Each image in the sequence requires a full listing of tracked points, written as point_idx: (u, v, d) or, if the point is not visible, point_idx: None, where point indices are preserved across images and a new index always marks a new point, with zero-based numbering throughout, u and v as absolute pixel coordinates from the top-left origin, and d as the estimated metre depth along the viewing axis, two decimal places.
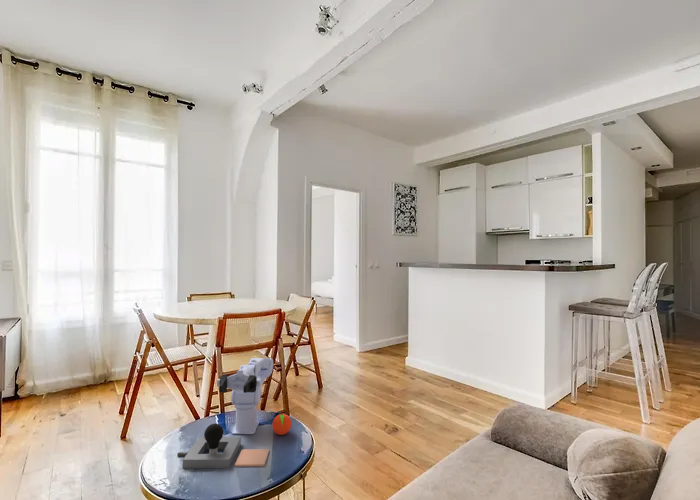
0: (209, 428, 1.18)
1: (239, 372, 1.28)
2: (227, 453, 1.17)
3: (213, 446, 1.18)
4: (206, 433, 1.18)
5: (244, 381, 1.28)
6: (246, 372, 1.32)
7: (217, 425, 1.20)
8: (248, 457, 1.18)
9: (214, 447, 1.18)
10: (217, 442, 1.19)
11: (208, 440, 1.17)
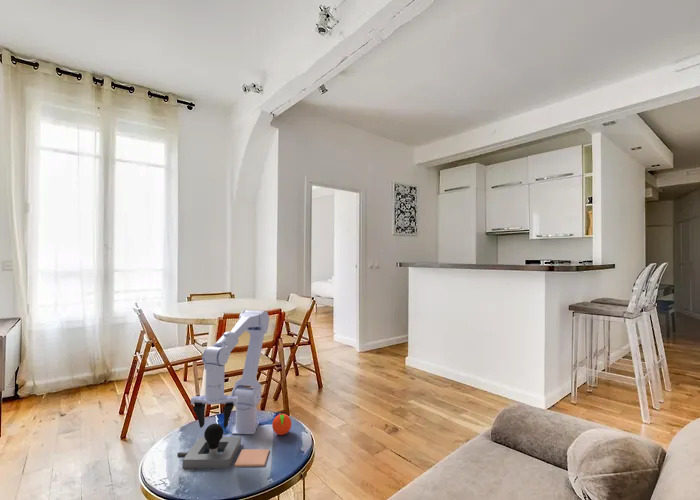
0: (209, 428, 1.18)
1: None
2: (227, 453, 1.17)
3: (213, 446, 1.18)
4: (206, 433, 1.18)
5: None
6: (216, 389, 1.18)
7: (217, 425, 1.20)
8: (248, 457, 1.18)
9: (214, 447, 1.18)
10: (217, 442, 1.19)
11: (208, 440, 1.17)
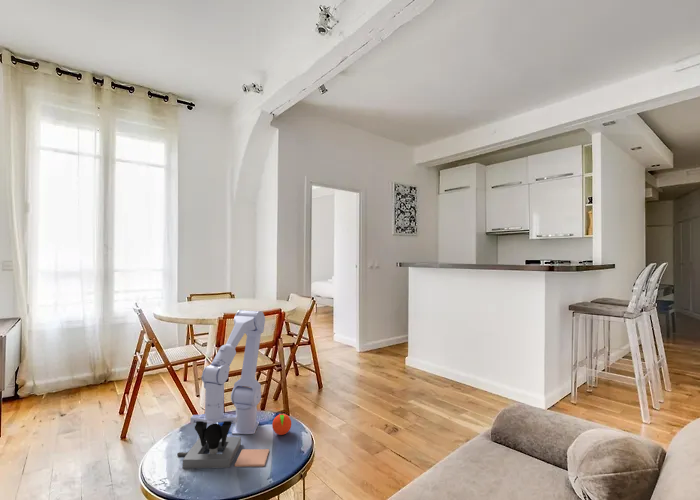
0: (209, 428, 1.18)
1: None
2: (227, 453, 1.17)
3: (213, 446, 1.18)
4: (206, 433, 1.18)
5: None
6: (216, 408, 1.18)
7: (217, 425, 1.20)
8: (248, 457, 1.18)
9: (214, 447, 1.18)
10: (217, 442, 1.19)
11: (208, 440, 1.17)
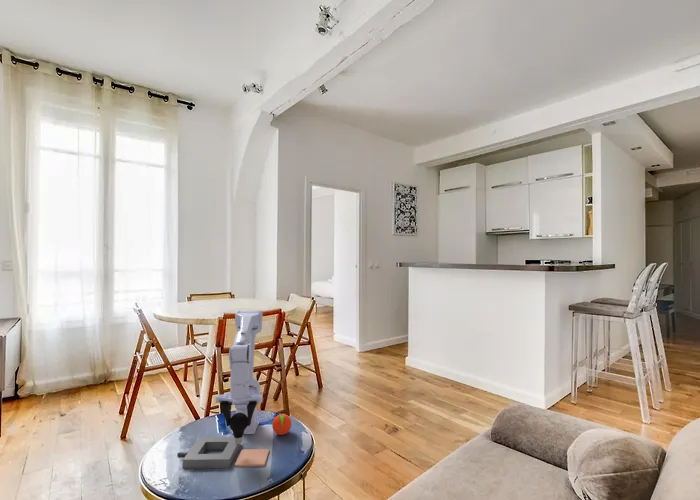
0: (234, 417, 1.18)
1: None
2: (227, 453, 1.17)
3: (238, 435, 1.17)
4: (231, 422, 1.17)
5: None
6: (242, 388, 1.17)
7: (242, 414, 1.19)
8: (248, 457, 1.18)
9: (239, 436, 1.18)
10: (242, 431, 1.18)
11: (233, 429, 1.16)
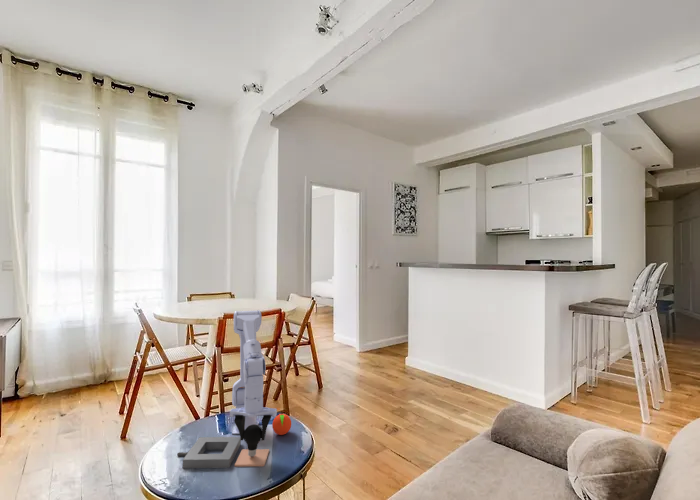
0: (249, 429, 1.17)
1: None
2: (227, 453, 1.17)
3: (252, 447, 1.17)
4: (246, 434, 1.16)
5: None
6: (256, 402, 1.16)
7: (256, 426, 1.18)
8: (248, 457, 1.18)
9: (253, 448, 1.17)
10: (257, 443, 1.17)
11: (248, 441, 1.16)
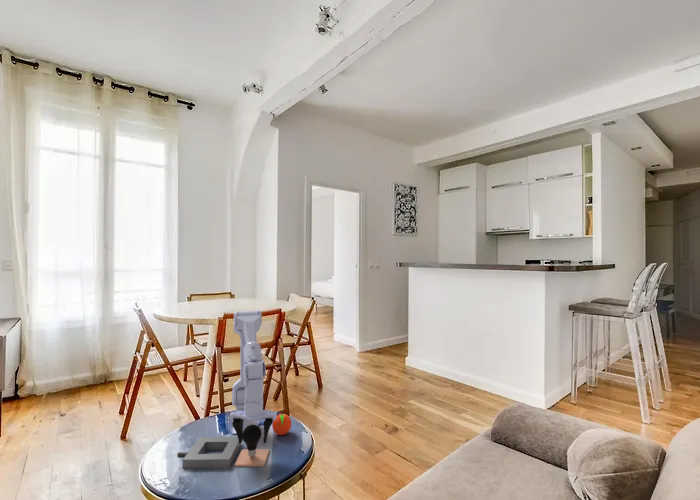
0: (248, 429, 1.17)
1: None
2: (227, 453, 1.17)
3: (252, 447, 1.17)
4: (245, 434, 1.16)
5: None
6: (256, 405, 1.16)
7: (255, 426, 1.18)
8: (248, 457, 1.18)
9: (253, 448, 1.17)
10: (256, 443, 1.17)
11: (247, 441, 1.16)
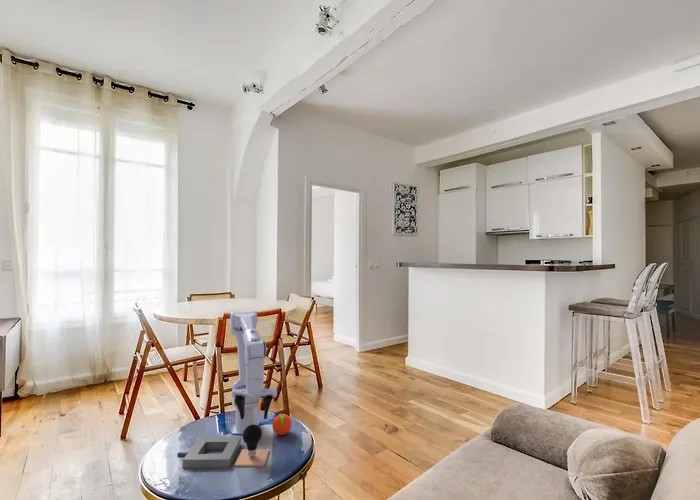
0: (248, 429, 1.17)
1: None
2: (227, 453, 1.17)
3: (252, 447, 1.17)
4: (245, 434, 1.16)
5: None
6: (257, 382, 1.22)
7: (256, 426, 1.18)
8: (248, 457, 1.18)
9: (253, 448, 1.17)
10: (256, 443, 1.17)
11: (247, 441, 1.16)
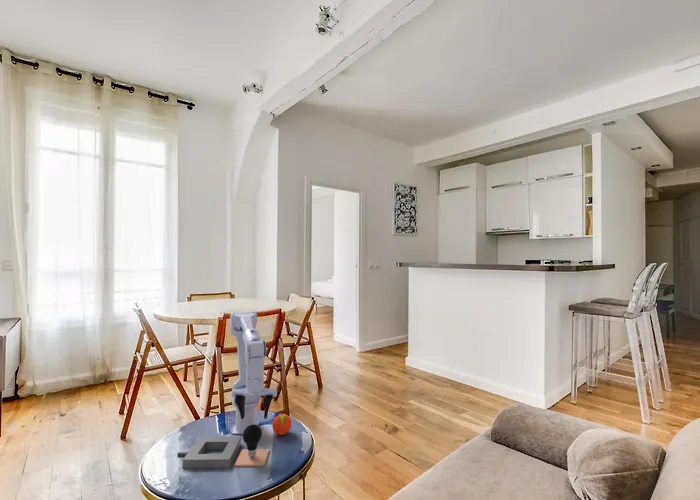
0: (248, 429, 1.17)
1: None
2: (227, 453, 1.17)
3: (252, 447, 1.17)
4: (245, 434, 1.16)
5: None
6: (257, 382, 1.22)
7: (256, 426, 1.18)
8: (248, 457, 1.18)
9: (253, 448, 1.17)
10: (256, 443, 1.17)
11: (248, 441, 1.16)
